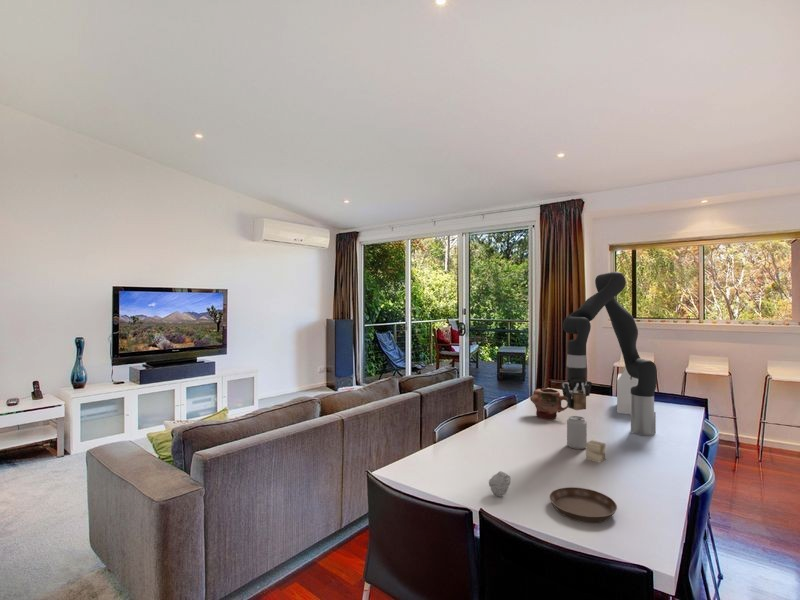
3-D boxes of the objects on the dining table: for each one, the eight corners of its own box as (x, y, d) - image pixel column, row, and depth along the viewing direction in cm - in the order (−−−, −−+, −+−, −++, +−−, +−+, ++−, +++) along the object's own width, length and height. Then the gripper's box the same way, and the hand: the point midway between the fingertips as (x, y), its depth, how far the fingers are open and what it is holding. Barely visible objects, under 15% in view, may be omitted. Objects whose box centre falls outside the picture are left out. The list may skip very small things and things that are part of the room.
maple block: (592, 455, 163) (592, 440, 163) (605, 459, 160) (605, 443, 160) (586, 458, 160) (586, 442, 160) (599, 462, 156) (599, 446, 156)
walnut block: (577, 406, 176) (577, 391, 176) (586, 409, 172) (586, 394, 172) (567, 407, 175) (567, 392, 175) (576, 410, 170) (576, 395, 170)
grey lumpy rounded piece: (515, 497, 128) (515, 474, 128) (495, 501, 126) (495, 478, 126) (503, 489, 134) (503, 467, 134) (484, 492, 132) (484, 470, 132)
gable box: (618, 404, 244) (618, 355, 244) (644, 406, 238) (644, 357, 238) (617, 413, 225) (616, 360, 225) (645, 416, 219) (645, 362, 219)
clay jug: (572, 417, 217) (572, 390, 217) (569, 423, 206) (568, 394, 206) (532, 412, 227) (532, 386, 227) (527, 417, 216) (527, 390, 216)
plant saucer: (548, 520, 116) (548, 509, 116) (550, 492, 132) (550, 483, 132) (621, 532, 110) (621, 521, 110) (613, 502, 126) (613, 492, 126)
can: (588, 450, 169) (588, 420, 169) (568, 449, 170) (568, 419, 170) (584, 444, 176) (584, 415, 176) (565, 443, 178) (565, 414, 178)
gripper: (583, 363, 179) (583, 403, 179) (556, 365, 174) (556, 406, 174) (597, 366, 172) (597, 407, 172) (569, 368, 167) (569, 411, 167)
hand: (576, 407), depth 173 cm, fingers closed on walnut block, 5 cm apart
